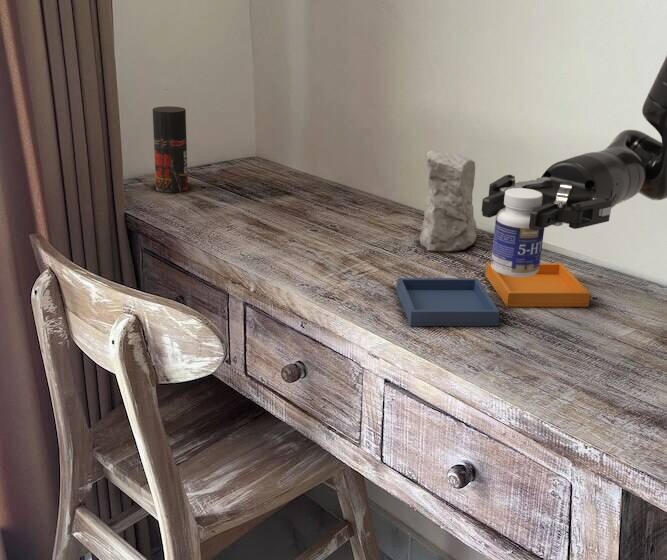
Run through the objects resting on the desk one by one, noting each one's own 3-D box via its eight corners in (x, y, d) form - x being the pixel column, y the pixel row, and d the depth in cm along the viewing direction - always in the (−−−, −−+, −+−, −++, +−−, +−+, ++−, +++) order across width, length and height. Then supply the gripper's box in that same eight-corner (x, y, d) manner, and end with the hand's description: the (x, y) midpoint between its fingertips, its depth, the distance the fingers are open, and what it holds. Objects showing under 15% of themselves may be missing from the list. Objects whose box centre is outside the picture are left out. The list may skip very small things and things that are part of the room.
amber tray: (588, 306, 109) (590, 293, 108) (506, 306, 108) (508, 292, 107) (560, 275, 119) (562, 263, 118) (485, 275, 118) (486, 262, 117)
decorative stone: (477, 255, 126) (487, 163, 121) (418, 251, 127) (425, 159, 122) (475, 235, 135) (484, 148, 130) (420, 230, 136) (427, 144, 131)
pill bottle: (519, 282, 87) (528, 202, 84) (481, 268, 91) (488, 191, 88) (548, 270, 91) (558, 194, 87) (510, 257, 94) (518, 183, 91)
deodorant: (156, 184, 157) (153, 106, 151) (187, 184, 158) (185, 106, 152) (155, 192, 152) (151, 112, 146) (187, 192, 153) (185, 112, 147)
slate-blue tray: (498, 326, 102) (500, 311, 101) (410, 326, 101) (411, 311, 100) (476, 291, 112) (478, 278, 112) (396, 291, 111) (397, 277, 111)
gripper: (536, 144, 101) (456, 166, 89) (648, 167, 92) (575, 194, 80) (529, 202, 104) (450, 231, 92) (637, 230, 95) (564, 265, 83)
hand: (509, 214), depth 86 cm, fingers closed on pill bottle, 5 cm apart
